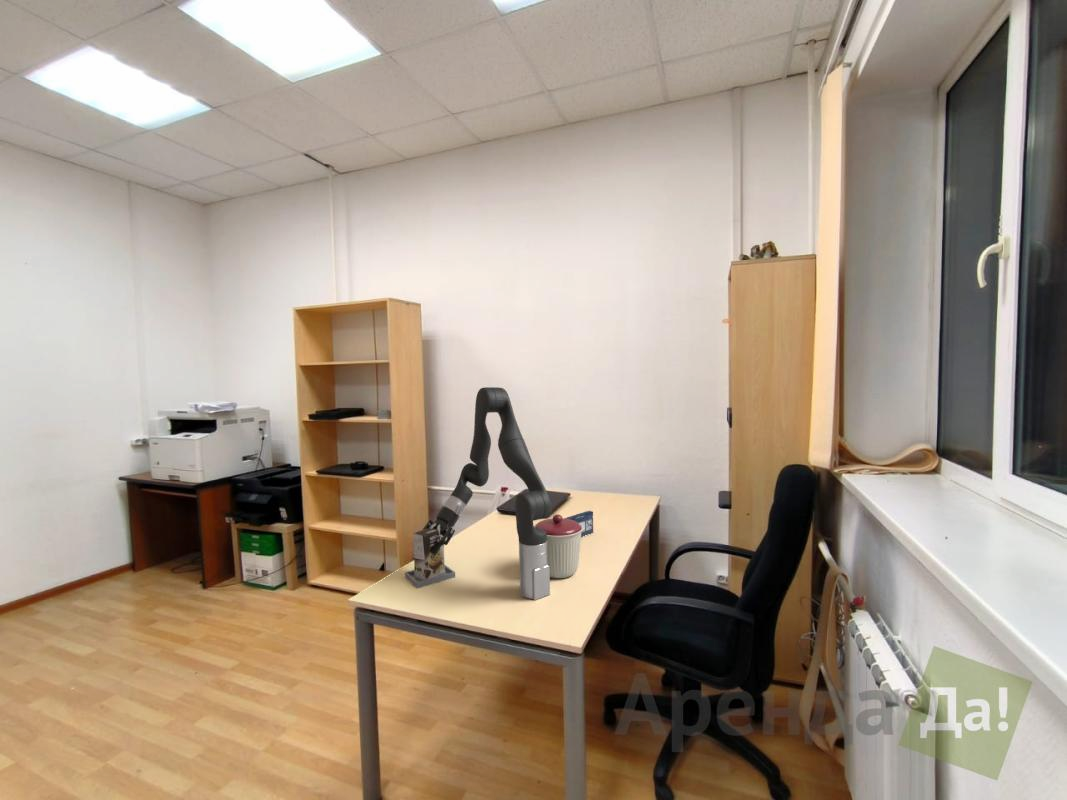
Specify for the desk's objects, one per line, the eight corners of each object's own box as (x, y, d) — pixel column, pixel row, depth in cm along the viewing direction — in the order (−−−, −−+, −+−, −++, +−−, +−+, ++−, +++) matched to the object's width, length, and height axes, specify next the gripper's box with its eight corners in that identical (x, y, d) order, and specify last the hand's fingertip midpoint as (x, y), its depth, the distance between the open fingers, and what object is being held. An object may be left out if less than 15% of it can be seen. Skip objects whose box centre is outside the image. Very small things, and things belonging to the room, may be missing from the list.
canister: (526, 567, 172) (525, 511, 171) (570, 559, 179) (569, 505, 178) (545, 587, 156) (543, 525, 154) (593, 578, 162) (591, 518, 161)
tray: (455, 577, 166) (455, 572, 166) (417, 588, 157) (416, 583, 157) (441, 567, 175) (441, 562, 175) (405, 577, 166) (404, 572, 166)
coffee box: (426, 582, 161) (424, 536, 160) (414, 577, 164) (412, 532, 164) (445, 572, 168) (444, 528, 167) (433, 568, 172) (431, 525, 171)
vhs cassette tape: (564, 543, 196) (563, 520, 195) (559, 542, 198) (559, 519, 198) (594, 533, 207) (594, 511, 207) (589, 532, 210) (589, 510, 209)
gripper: (434, 502, 175) (408, 540, 167) (456, 509, 165) (430, 550, 158) (446, 513, 179) (421, 550, 172) (469, 520, 169) (444, 560, 162)
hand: (425, 550), depth 165 cm, fingers open, 8 cm apart
